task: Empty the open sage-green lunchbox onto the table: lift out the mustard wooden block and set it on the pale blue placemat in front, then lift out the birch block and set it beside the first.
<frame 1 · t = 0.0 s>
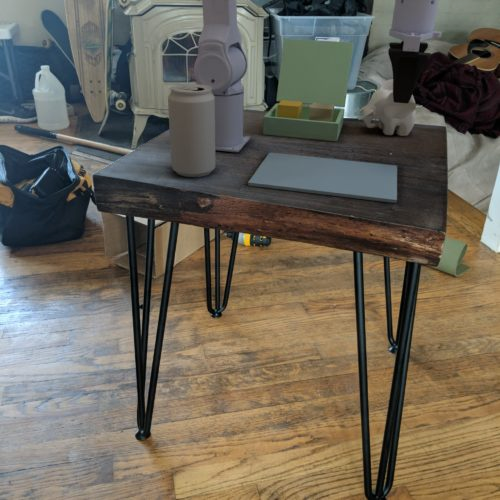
hand: (400, 97, 77), 10 cm above the table, tool pointing down, fingers open, 7 cm apart
birch block: (320, 127, 96), point 1 cm above the table, touching lunchbox
lunchbox lid: (314, 74, 101), point 9 cm above the table, hinge at 112.0°
lunchbox: (304, 129, 97), on the table
beverage can: (193, 172, 76), on the table
elephant figurine: (385, 132, 97), on the table
mustard block: (288, 124, 97), point 1 cm above the table, touching lunchbox
placemat: (326, 176, 75), on the table
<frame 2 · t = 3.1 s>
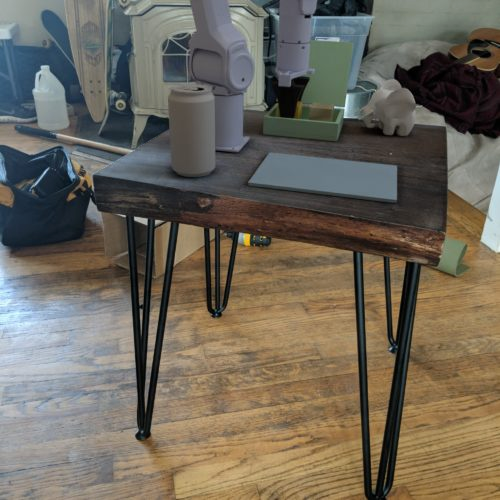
hand: (289, 119, 97), 2 cm above the table, tool pointing down, fingers closed on mustard block, 4 cm apart
mustard block: (288, 124, 97), point 1 cm above the table, touching gripper, lunchbox
everything else where it was.
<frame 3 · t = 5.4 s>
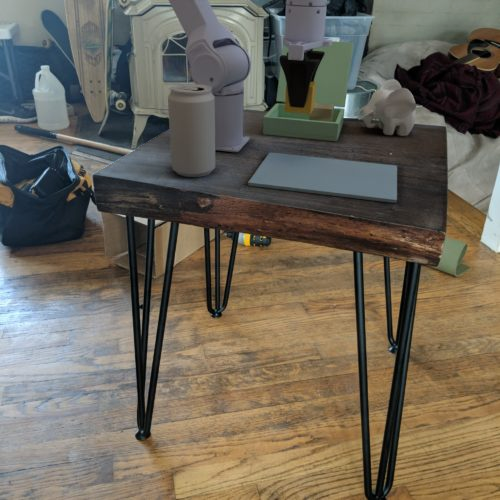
hand: (299, 103, 79), 8 cm above the table, tool pointing down, fingers closed on mustard block, 4 cm apart
mustard block: (299, 110, 79), point 7 cm above the table, touching gripper
everything else where it was.
when the fingers open (1 cm above the table, at t = 8.1 s): mustard block stays where it is, resting on placemat.
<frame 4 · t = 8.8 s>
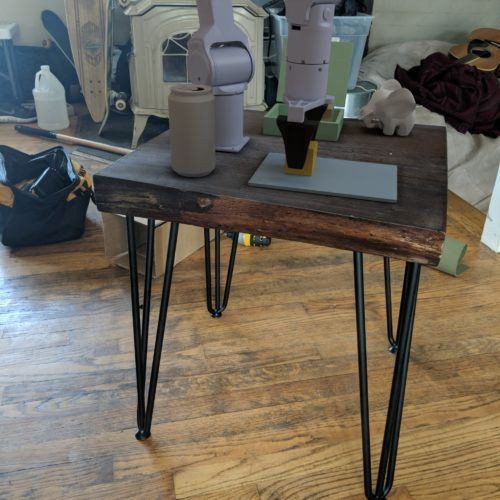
hand: (299, 159, 75), 2 cm above the table, tool pointing down, fingers open, 7 cm apart
mustard block: (300, 170, 76), resting on placemat
everything else where it was.
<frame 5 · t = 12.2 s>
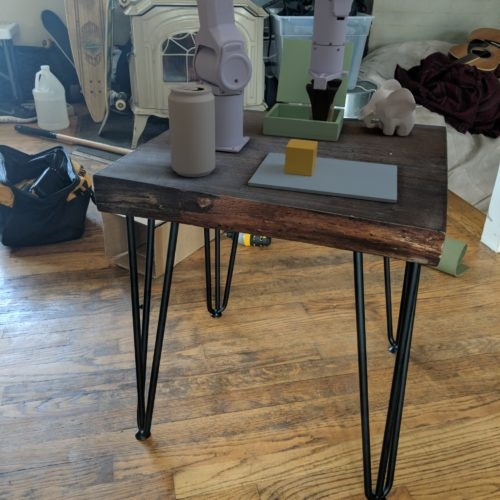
hand: (320, 122, 96), 2 cm above the table, tool pointing down, fingers closed on birch block, 4 cm apart
birch block: (320, 127, 96), point 1 cm above the table, touching gripper, lunchbox
everything else where it was.
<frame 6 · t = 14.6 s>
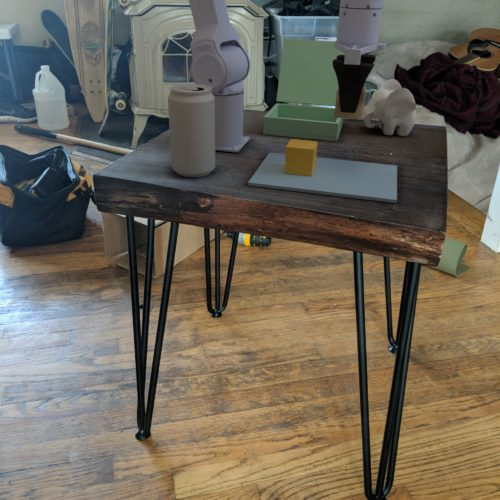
hand: (349, 108, 77), 8 cm above the table, tool pointing down, fingers closed on birch block, 4 cm apart
birch block: (348, 115, 77), point 7 cm above the table, touching gripper
everything else where it was.
when the fingers open (1 cm above the table, at t = 17.2 s): birch block moves 2 cm, resting on placemat.
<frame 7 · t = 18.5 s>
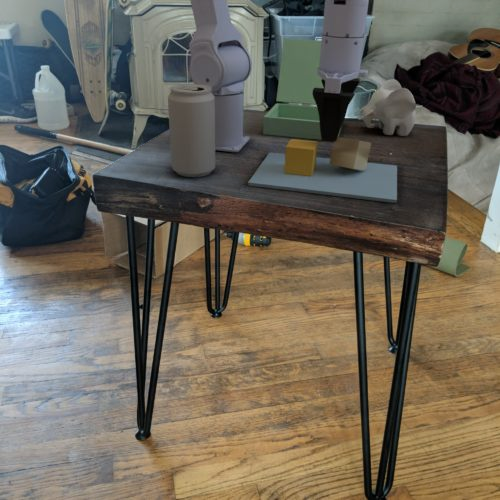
hand: (332, 133, 77), 5 cm above the table, tool pointing down, fingers open, 7 cm apart
birch block: (347, 167, 75), point 1 cm above the table, tilted 17°, touching placemat
everything else where it was.
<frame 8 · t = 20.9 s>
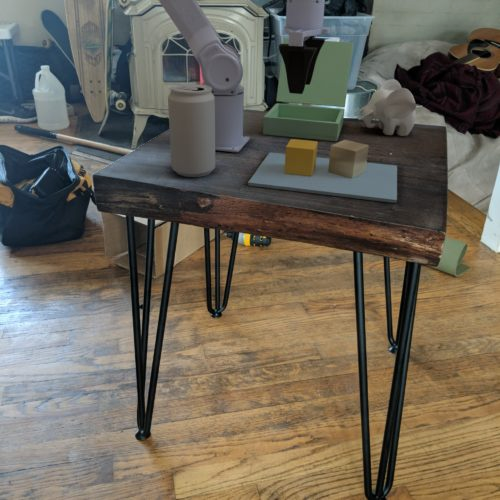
hand: (300, 88, 84), 9 cm above the table, tool pointing down, fingers open, 7 cm apart
birch block: (346, 171, 76), resting on placemat
everything else where it was.
at the end: mustard block inside the target area on the placemat (0.1 cm from its centre), point 0.5 cm above the placemat's base; birch block inside the target area on the placemat (2.1 cm from its centre), point 0.5 cm above the placemat's base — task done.
